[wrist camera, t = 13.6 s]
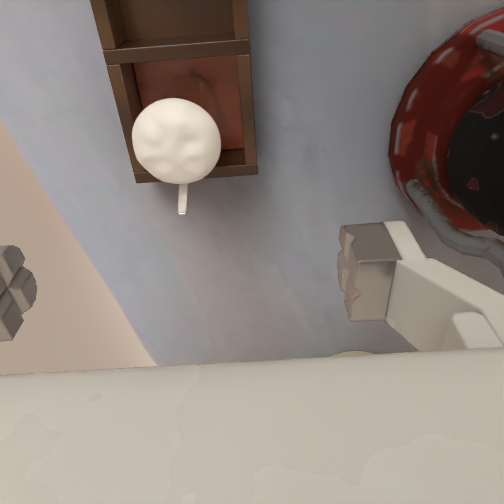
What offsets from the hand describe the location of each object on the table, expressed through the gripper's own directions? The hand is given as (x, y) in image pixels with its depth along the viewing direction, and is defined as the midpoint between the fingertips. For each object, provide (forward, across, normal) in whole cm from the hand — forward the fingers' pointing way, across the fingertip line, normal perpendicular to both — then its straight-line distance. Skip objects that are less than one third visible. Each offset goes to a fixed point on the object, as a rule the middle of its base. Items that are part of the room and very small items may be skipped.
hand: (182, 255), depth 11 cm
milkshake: (+20, +2, +2) cm, 21 cm away
